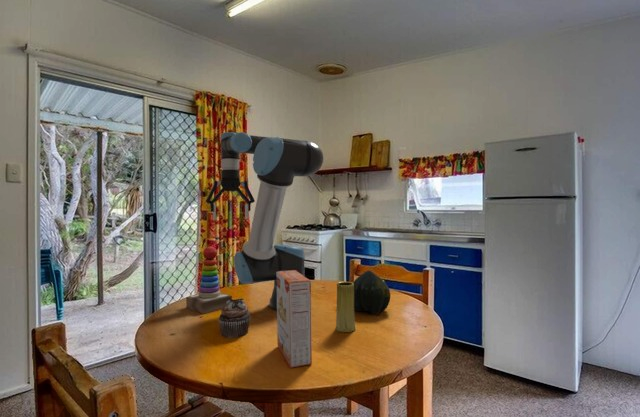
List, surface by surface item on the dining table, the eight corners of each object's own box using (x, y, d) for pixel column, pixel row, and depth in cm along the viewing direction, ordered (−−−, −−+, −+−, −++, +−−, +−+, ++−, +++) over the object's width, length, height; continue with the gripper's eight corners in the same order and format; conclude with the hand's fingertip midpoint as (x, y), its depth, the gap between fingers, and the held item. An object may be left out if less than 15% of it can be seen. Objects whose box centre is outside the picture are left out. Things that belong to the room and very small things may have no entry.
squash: (366, 305, 118) (384, 267, 125) (335, 298, 129) (353, 263, 136) (387, 326, 125) (403, 289, 132) (356, 318, 136) (372, 284, 143)
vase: (357, 327, 113) (357, 282, 113) (352, 333, 107) (352, 286, 107) (338, 325, 115) (338, 280, 115) (333, 331, 109) (333, 285, 109)
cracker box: (275, 346, 98) (275, 270, 97) (297, 343, 100) (296, 269, 99) (288, 369, 85) (287, 281, 84) (312, 365, 86) (312, 279, 86)
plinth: (231, 306, 136) (231, 295, 136) (203, 313, 127) (203, 302, 127) (214, 300, 144) (214, 290, 144) (186, 307, 135) (186, 296, 135)
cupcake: (216, 330, 111) (216, 298, 111) (247, 325, 115) (247, 294, 115) (220, 341, 102) (220, 306, 102) (254, 335, 106) (253, 302, 106)
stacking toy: (214, 299, 131) (213, 248, 130) (194, 298, 132) (193, 247, 132) (224, 293, 138) (223, 245, 138) (205, 292, 140) (204, 245, 140)
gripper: (256, 171, 161) (257, 218, 161) (198, 169, 151) (199, 219, 151) (261, 169, 154) (261, 218, 154) (200, 167, 144) (201, 220, 144)
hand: (231, 219), depth 152 cm, fingers open, 13 cm apart
